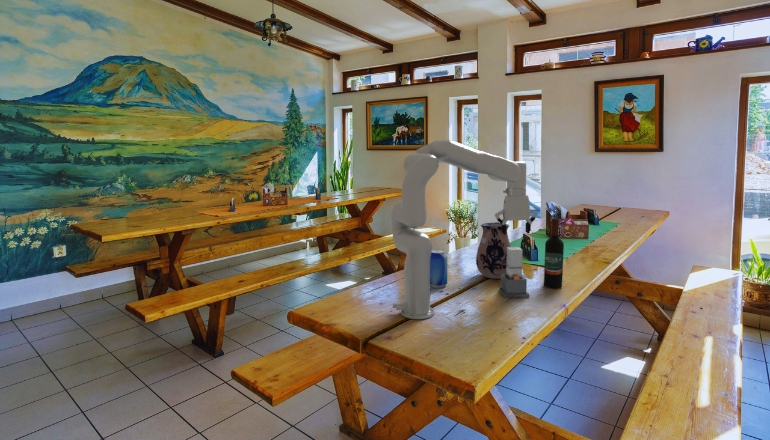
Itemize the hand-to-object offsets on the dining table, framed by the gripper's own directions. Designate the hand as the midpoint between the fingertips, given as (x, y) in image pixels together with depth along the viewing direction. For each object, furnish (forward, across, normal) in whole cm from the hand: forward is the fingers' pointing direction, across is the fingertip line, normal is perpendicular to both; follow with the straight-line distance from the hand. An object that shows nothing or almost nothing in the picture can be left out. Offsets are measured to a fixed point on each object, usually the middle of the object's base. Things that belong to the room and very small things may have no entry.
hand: (515, 233), depth 189 cm
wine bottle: (+26, +19, +9) cm, 34 cm away
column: (+24, -1, 0) cm, 24 cm away
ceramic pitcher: (+26, -2, +27) cm, 38 cm away
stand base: (+26, -1, 0) cm, 26 cm away
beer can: (+26, -31, +14) cm, 42 cm away
